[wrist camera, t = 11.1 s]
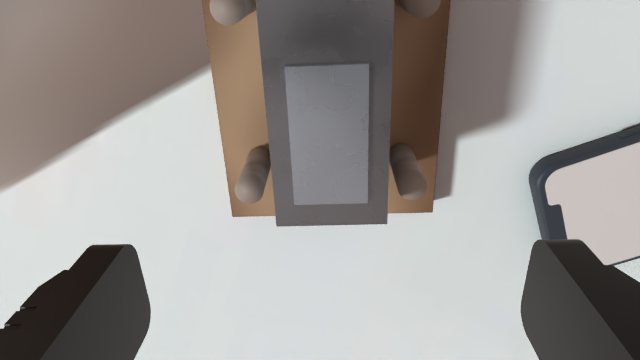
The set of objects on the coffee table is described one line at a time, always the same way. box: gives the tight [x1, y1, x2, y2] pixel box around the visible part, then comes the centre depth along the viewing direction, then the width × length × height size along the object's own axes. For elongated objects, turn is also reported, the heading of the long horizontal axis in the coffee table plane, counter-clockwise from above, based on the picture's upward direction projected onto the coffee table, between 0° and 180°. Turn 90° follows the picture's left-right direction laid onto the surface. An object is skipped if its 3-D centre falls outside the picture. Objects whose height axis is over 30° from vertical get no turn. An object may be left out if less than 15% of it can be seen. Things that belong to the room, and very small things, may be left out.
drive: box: [255, 0, 395, 226], centre depth 21 cm, size 5×10×6 cm, turn 2°
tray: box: [202, 0, 450, 217], centre depth 22 cm, size 12×16×5 cm
